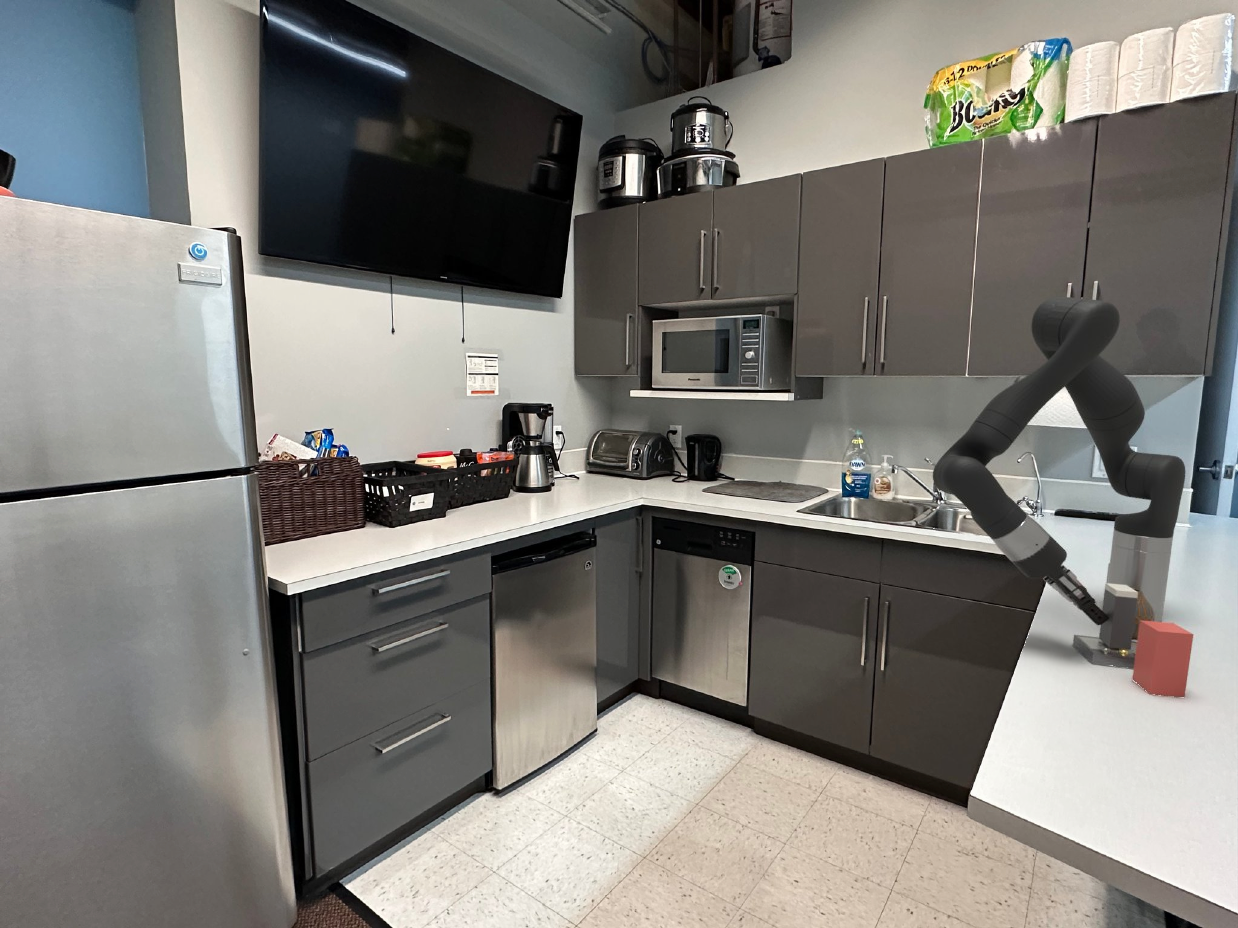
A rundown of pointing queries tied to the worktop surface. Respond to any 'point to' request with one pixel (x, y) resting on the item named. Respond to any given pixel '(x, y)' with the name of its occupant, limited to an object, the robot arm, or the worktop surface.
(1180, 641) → the block
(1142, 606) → the vase
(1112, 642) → the block
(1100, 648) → the ball-studded metal plate
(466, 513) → the worktop surface
